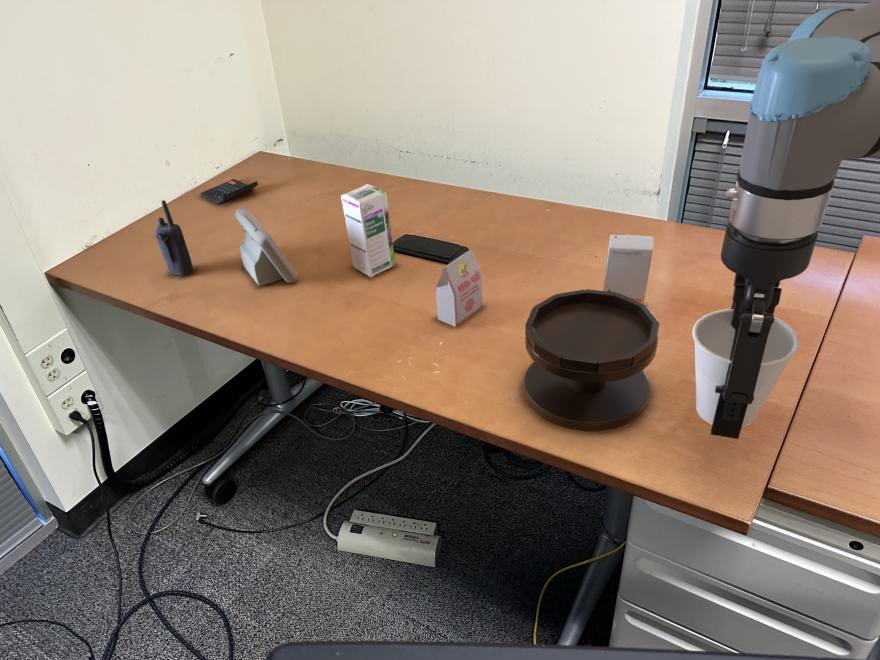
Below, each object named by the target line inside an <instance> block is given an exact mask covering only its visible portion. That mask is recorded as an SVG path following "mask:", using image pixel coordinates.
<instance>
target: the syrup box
mask: <svg viewBox="0 0 880 660" xmlns="http://www.w3.org/2000/svg"><path fill="white" fill-rule="evenodd" d="M340 198H341V205H342V210H343V214H344V216H343V217H344V220H345V227H346V232H347V237H348V244H349V249H350V255H351V260H352V266H353V268H355V269H356V270H358V271H359V272H361V273H362V274H364V275H366V276H367V277H369V278H373V277H374V276H376V275H379V274H381V273H382V272H384V271H386V270H388V269H390V268H393V267H395V266H396V259H395V250H394V243H393V236H392V227H391V220H390V213H389V204H388V197H387V192H386V191H385V190H383V189H381V188H380V187H377V186H374V185H372V184H368V183H366V184H364V185H363V186H361V187H358V188H356V189H353V190H351V191H348V192H347V193H344V194H341V195H340Z"/></svg>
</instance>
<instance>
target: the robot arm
mask: <svg viewBox="0 0 880 660" xmlns="http://www.w3.org/2000/svg"><path fill="white" fill-rule="evenodd" d="M748 112H749V114H748V120H747V126H746V130H745V135H744V136H745V137H744V142H743V146H742V152H741V157H740V161H739V166H738V172H737V176H736V182H735V188H729V189H727V190H726V192H725V198H726V200H729V201H731V205H730V211H729V216H728V220H729V222H728V223H727V225H726V227H725V231H724V237H723V241H722V245H721V251H720V259H721V262H722V264H723V265H724V267H726V268H727V270H729V271H731V272H732V273H734V280H733V290H732V291H733V292H732V302H731V307H730V309H733V314H732V318H731V323H730V325H732V327H733V328H734V329H735V333H734V338H733V343H732V348H731V353H730V358H729V359H730V361H731V364H730V363H729V366H728V370H727V374H726V379H725V384H724V385H722V386H716V388H715V393H720V395H719V399H718V403H717V407H716V412H715V416H714V420H713V424H712V425H711V429H710V436H715V437H723V438H729V439H735V440H739V439H740V435H741V432H742V429H743V428H742V424H743V421H744V417H745V413H746V410H747V406H748V404H751V403H752V401H753V400H754V396H753V395H754V391H755V387H756V383H757V379H758V375H759V371H760V367H761V363H762V359H763V354H764V350H765V346H766V342H767V338H768V335H769V332H770V329H771V325H772V323H774V317H775V315H774V314H775V310H776V307H777V306H778V305H779V304H780V300H781V296H782V290H783V289H782V287H780V284H781V281H784V280H787V279H788V280H789V279H792V278H795V277H797V276H799V275H801V274H803V273H804V272H805V271H806V270H807V269H808V267H809V266H810V263H811V260H812V257H813V253H814V249H815V247H816V243H817V239H818V236H819V233H818V230H820V229H821V228H822V224H823V221H824V218H825V215H826V212H827V209H828V206H829V202H830V199H831V196H832V193H833V190H834V186H835V185H834V183H835V180H836V176H837V175H838V172H839V168H840V167H841V164H842V162H843V161H847V160H854V159H855V160H856V159H864V158H868V157H876V156H880V0H873V1H871V2H869V3H867V4H865V5H863V6H861V7H859V8H857V9H855V8H850V7H843V8H842V7H832V8H826V9H821V10H819V11H818V12H817V11H816V12H815V13H814V14H812V15H810V16H808V18H806V19H805V20H803V22H801V23H800V24H799V25H798V26H797V27H796V29H795V30H794V31H793V33H792V34H791V36H790V37H789V39H788V41H786V42H782V43H781V44H778V45H776V47H774V48H773V49H771V50H770V51H769V52H768V53H767V54H766V56H765V57H764V59H763V61H762V64H761V67H760V70H759V73H758V75H757V79H756V83H755V86H754V90H753V94H752V97H751V100H750V102H749V105H748Z"/></svg>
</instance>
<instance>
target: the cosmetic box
mask: <svg viewBox="0 0 880 660" xmlns="http://www.w3.org/2000/svg"><path fill="white" fill-rule="evenodd" d="M654 238H655V237H654V236H653V235H637V234H610V235H609V240H608V241H609V242H608V249H607V259H606V265H605V266H606V267H605V274H604V283H603V288H602V289H603V290H602V291H607V292H617V294H618V293H620V294H622V295H624V296H627V297H629V298H631V299H634V300H636V301H638V302H640V303H643V304H644V305H645V300H646V293H647V292H646V291H647V287H648V281H649V277H650V276H649V275H650V270H651V269H650V268H651V264H652V259H653V258H652V257H653V251H654V242H655V241H654Z"/></svg>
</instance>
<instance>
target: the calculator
mask: <svg viewBox="0 0 880 660" xmlns="http://www.w3.org/2000/svg"><path fill="white" fill-rule="evenodd" d="M258 185H259V182H258V181H257V180H256V181H253V182H251V183H249V184H246V183H245V182H243V181H240V180H238V179H235V178H232V179H230V180H227V181H225V182H223V183H220V184H218V185H216V186H214V187H210V188H209V189H207V190H204V191H202V192H199V194H200V197H202V198H204V199H206V200H207V201H209V202H212V203H214V204H216V205H219V204H221V203H223V202H226V201H229V200H230V199H233V198H235V197H237V196H240V195H242V194H244V193H246V192H248V191H251V190H253V189H254V188H256V187H257V186H258Z"/></svg>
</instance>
